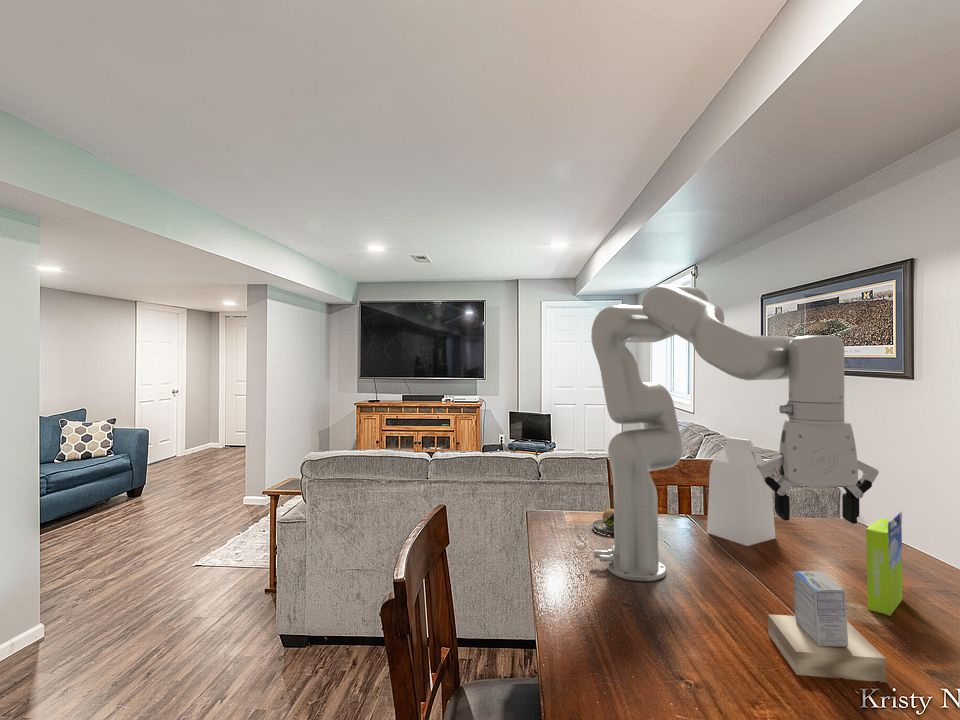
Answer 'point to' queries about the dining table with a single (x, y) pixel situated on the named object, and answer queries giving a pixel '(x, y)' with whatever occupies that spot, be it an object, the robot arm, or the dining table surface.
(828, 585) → the medicine box
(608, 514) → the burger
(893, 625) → the dining table surface
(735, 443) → the milk
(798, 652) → the maple block
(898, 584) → the box
